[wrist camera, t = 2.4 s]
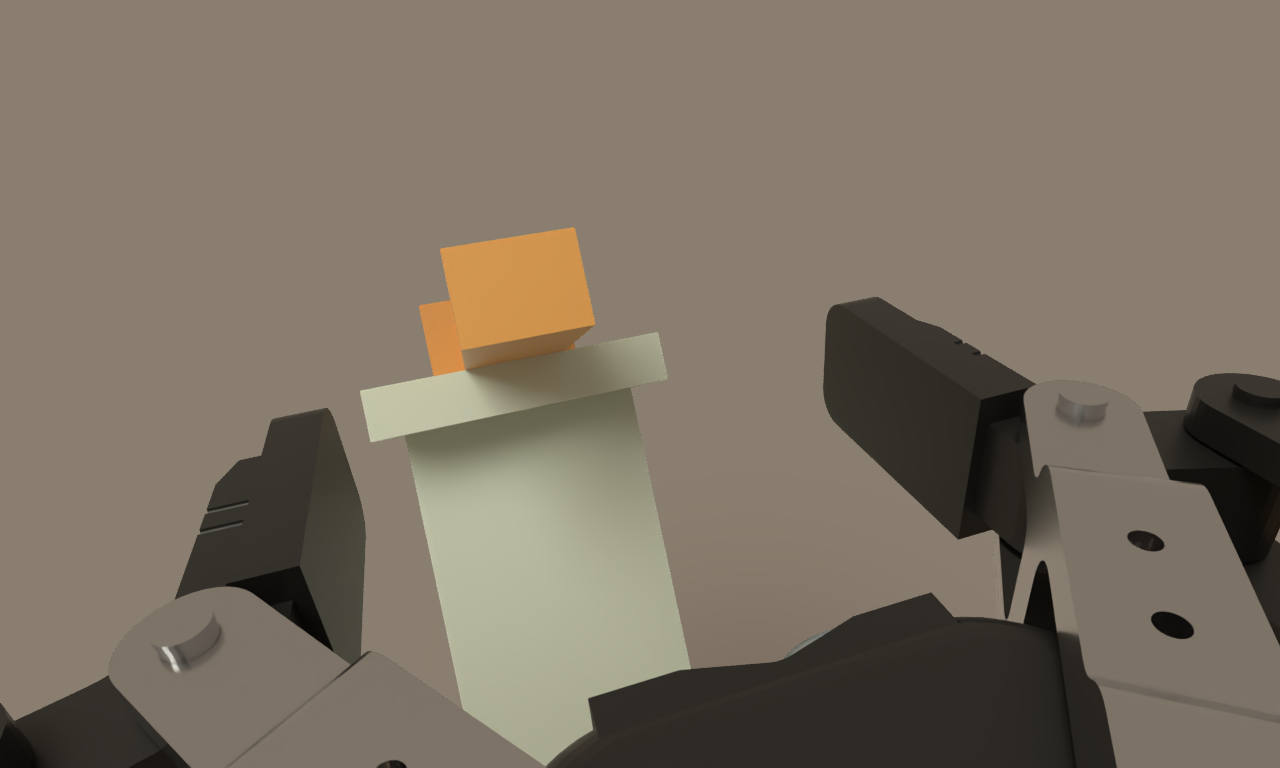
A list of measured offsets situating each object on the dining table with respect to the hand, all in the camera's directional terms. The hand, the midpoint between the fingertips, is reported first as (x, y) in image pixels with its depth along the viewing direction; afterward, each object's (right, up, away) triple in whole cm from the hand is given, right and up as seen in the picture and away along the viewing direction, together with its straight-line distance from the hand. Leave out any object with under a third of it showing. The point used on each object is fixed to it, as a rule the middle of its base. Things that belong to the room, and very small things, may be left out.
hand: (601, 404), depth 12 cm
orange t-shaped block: (-5, +1, +20) cm, 20 cm away
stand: (+1, -30, +24) cm, 39 cm away
